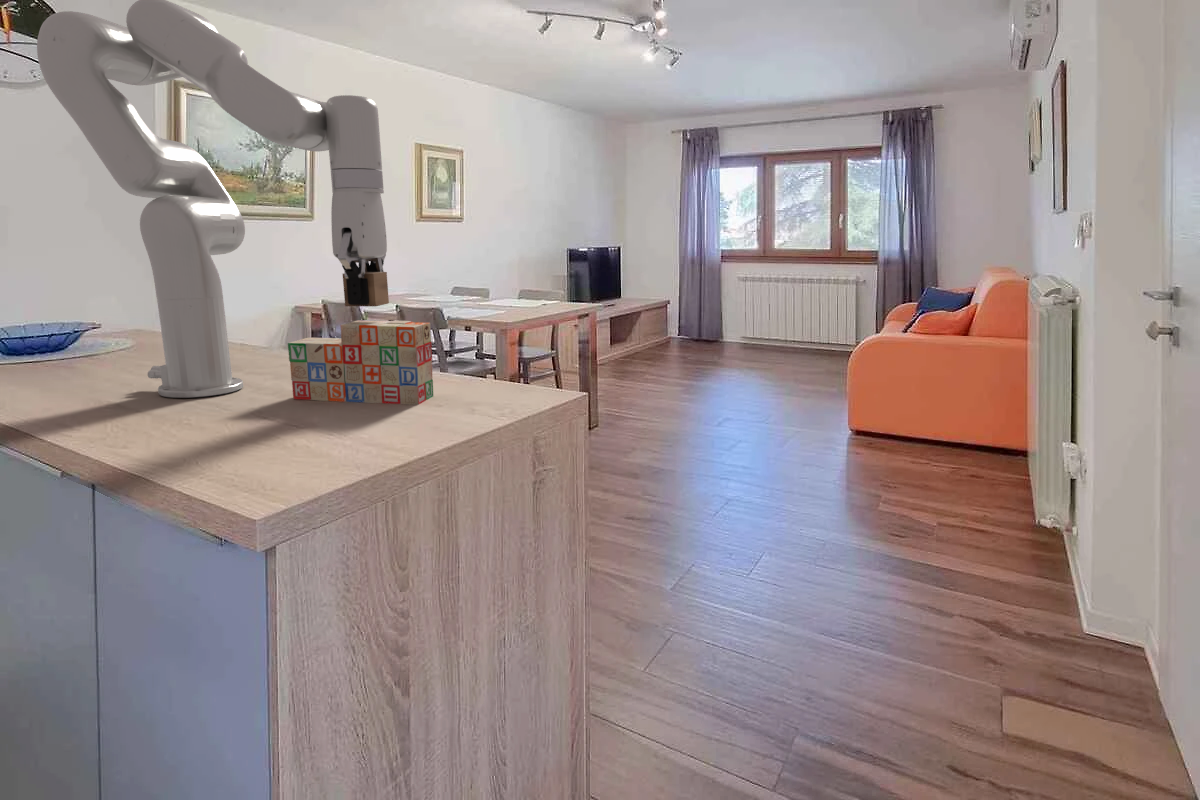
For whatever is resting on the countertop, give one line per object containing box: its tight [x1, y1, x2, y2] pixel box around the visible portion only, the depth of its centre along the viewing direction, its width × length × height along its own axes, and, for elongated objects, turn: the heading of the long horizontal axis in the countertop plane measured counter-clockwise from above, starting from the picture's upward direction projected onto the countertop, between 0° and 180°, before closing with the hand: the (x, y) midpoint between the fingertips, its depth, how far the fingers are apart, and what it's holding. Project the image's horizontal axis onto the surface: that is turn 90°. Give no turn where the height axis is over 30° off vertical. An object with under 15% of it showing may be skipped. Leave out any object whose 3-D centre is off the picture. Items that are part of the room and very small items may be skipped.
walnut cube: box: [342, 271, 390, 307], centre depth 118 cm, size 5×5×5 cm
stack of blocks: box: [287, 319, 434, 406], centre depth 118 cm, size 21×6×12 cm, turn 80°
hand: (366, 301), depth 118 cm, fingers closed on walnut cube, 5 cm apart
